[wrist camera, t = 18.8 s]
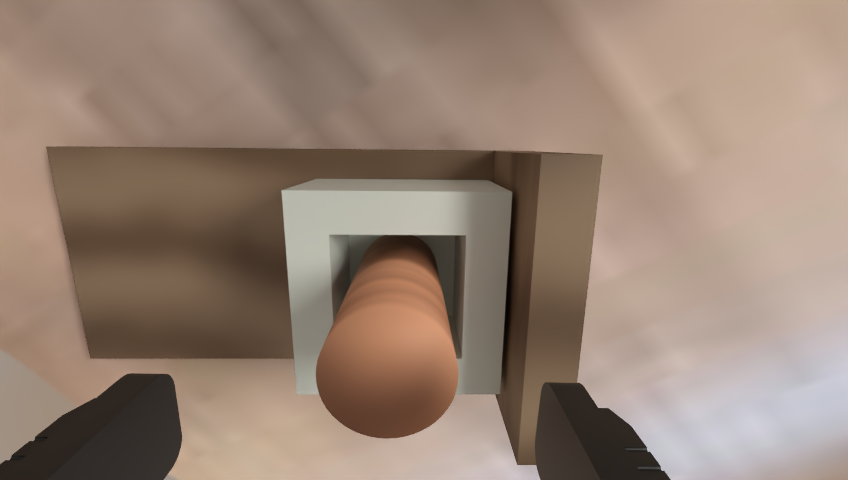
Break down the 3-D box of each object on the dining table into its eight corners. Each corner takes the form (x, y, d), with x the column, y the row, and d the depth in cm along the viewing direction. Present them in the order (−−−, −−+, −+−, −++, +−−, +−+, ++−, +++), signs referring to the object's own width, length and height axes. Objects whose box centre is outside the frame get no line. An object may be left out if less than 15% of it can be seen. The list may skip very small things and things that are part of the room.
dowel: (360, 232, 20) (313, 309, 11) (438, 233, 20) (461, 311, 11) (361, 304, 21) (318, 438, 11) (435, 305, 21) (455, 438, 12)
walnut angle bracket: (63, 146, 21) (-188, 147, 12) (527, 151, 22) (602, 155, 13) (103, 349, 24) (-78, 467, 15) (513, 349, 24) (567, 464, 16)
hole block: (316, 178, 21) (281, 190, 15) (488, 180, 21) (512, 192, 15) (325, 335, 23) (296, 394, 17) (480, 336, 23) (499, 394, 18)
